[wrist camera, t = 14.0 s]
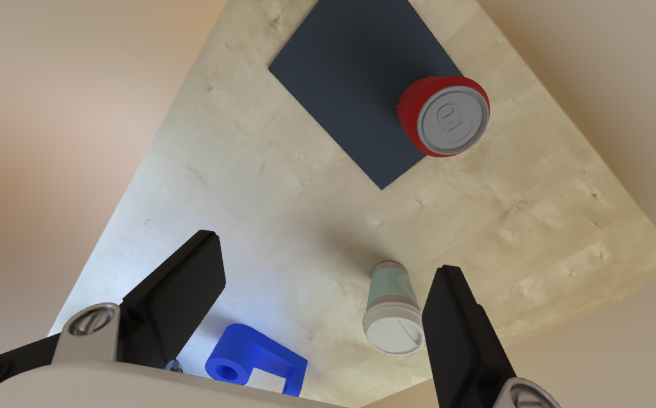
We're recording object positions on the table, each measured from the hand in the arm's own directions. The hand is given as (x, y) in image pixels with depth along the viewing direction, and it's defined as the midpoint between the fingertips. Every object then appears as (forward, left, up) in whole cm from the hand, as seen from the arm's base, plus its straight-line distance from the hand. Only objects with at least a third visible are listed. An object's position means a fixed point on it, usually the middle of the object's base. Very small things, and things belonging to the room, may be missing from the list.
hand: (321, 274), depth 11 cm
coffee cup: (+21, -11, -27) cm, 36 cm away
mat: (-3, +6, -27) cm, 28 cm away
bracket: (+21, -46, -27) cm, 57 cm away
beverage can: (+3, +9, -27) cm, 28 cm away
